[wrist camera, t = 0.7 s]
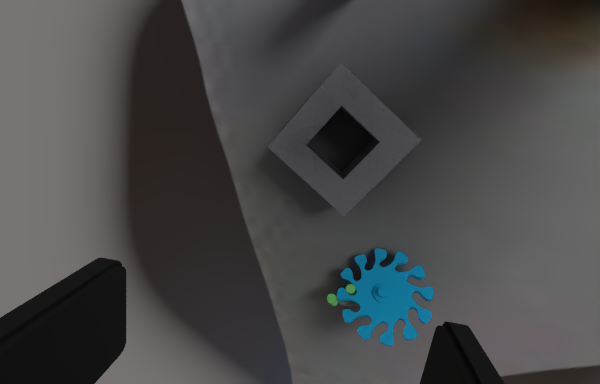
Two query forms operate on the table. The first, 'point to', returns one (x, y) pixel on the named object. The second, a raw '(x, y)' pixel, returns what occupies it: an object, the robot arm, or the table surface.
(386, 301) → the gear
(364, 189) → the block
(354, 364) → the table surface
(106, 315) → the robot arm
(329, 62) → the table surface
